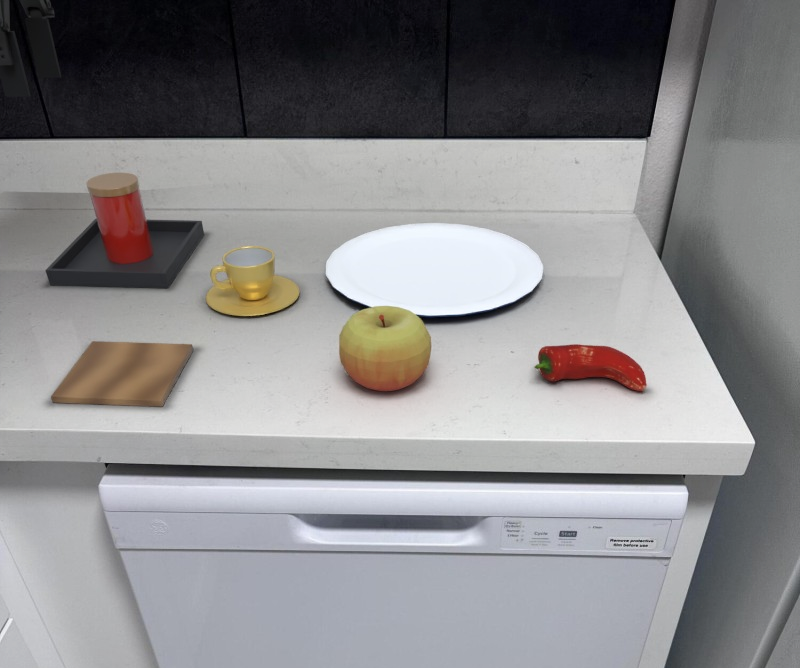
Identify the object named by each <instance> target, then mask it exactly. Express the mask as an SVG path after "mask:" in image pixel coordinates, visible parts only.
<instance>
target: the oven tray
mask: <svg viewBox="0 0 800 668" xmlns="http://www.w3.org/2000/svg"><path fill="white" fill-rule="evenodd" d="M146 220H147V225H148V229H149V234H150V238H151V242H152V247H153V255H152V256H151V257H149V258H148V259H146V260H143V261H140V262H136V263H130V264H119V263H114V262H111V261H109V260H108V259H107V256H106V252H105V248H104V245H103V241H102V237H101V233H100V230H99V226H98V222H97V218H95V219H93V220H92V222H91V223H90V224H89V225H88V226H87V227H85V229H84V230H83V231H82V232H81V233H80V234H79V235H78V236H77V237H76V238H75V239H74V240H73V241H72V242H71V243H70V244H69V245H68V246H67V247H66V248H65V249H64V251H62V252H61V253H60V255H58V256H57V257H56V259H55V260H54V261H53V262H52V263H51V264H50V265H49V266H48V267H46V269H45V270H44V271H45V274H46V276H47V280H48V283H49V286H61V287H63V286H65V287H67V286H70V287H101V288H105V287H106V288H139V289H140V288H142V289H143V288H145V289H169V288H170V286H171V285H172V284H173V282H174V281H175V279H176V277H177V276H178V274H179V273H180V271H181V270H182V269H183V267H184V266H185V264H186V262H187V261H188V259H189V258H190V256H191V255H192V254H193V252H194V251H195V249H196V248H197V246H198V245H199V243H200V242H201V240H202V239H203V237H204V236H205V232H204V226H203V221H202V220H191V219H189V220H187V219H146Z"/></svg>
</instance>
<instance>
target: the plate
mask: <svg viewBox="0 0 800 668" xmlns="http://www.w3.org/2000/svg"><path fill="white" fill-rule="evenodd" d="M543 272H544V265H543V262H542V259H541V258H540V256H539V254H538V253H536V252H535V251H534V250H533V249H532V248H531V247H529V246H528V245H527V244H526V243H524V242H522V241H520V240H518V239H516V238H514V237H512V236H510V235H508V234H505V233H502V232H499V231H495V230H492V229H488V228H485V227H480V226H474V225H467V224H460V223H448V222H447V223H446V222H445V223H443V222H425V223H424V222H423V223H421V222H420V223H408V224H400V225H393V226H386V227H382V228H380V229H375V230H372V231H368V232H365V233H362V234H360V235H359V236H356V237H353V238H351V239H349V240H347V241H345V242H343V243H342V244H341V245H340V246H339V247H337V248H336V249H335V250H333V251H332V252H331V254H330V255H329V257H328V259H327V260H326V261H325V277H326V279H327V280H328V282H329V284H330V285H331V287H332V288H333V289H334V290H335V291H337V292H338V293H339V294H341V295H342V296H343V297H345V298H346V299H348V300H350V301H352V302H355V303H357V304H360V305H362V306H364V307H366V308H371V307H375V306H393V307H400V308H403V309H406V310H409V311H411V312H412V313H414V314H415V315H417V316H418V317H420V318H421V317H423V318H443V317H463V316H469V315H475V314H481V313H486V312H491V311H493V310H496V309H499V308H502V307H506V306H508V305H513V304H514V303H517V302H518V301H519V300H521V299H522V298H524V297H527V296H528V295H530V294H531V293H532V292H533V291H534V290H535V289H536V288H537V286H538V285H539V284H540V283H541V281H542V279H543Z"/></svg>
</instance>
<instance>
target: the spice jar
mask: <svg viewBox="0 0 800 668" xmlns="http://www.w3.org/2000/svg"><path fill="white" fill-rule="evenodd" d="M86 187H87V191H88V193H89V196H90V200H91V204H92V207H93V211H94V214H95V219H97V222H98V226H99V230H100V233H101V237H102V241H103V245H104V248H105V252H106V256H107V259H108V260H109V261H111V262H114V263H119V264H130V263H136V262H140V261H143V260H146V259H148V258H149V257H151V256H152V255H153V247H152V242H151V238H150V234H149V229H148V225H147V220H148V219H147V216H146V212H145V208H144V202H143V198H142V194H141V190H140V182H139V177H138V176H137V175H136V174H133V173H129V172H108V173H103V174H99V175H96V176H93V177H91V178H89V179H88V180H87V181H86Z"/></svg>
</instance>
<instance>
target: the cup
mask: <svg viewBox="0 0 800 668" xmlns="http://www.w3.org/2000/svg"><path fill="white" fill-rule="evenodd" d="M275 258H276V255H275V253H274V251H273V250H271V249H270V248H267V247H264V246H257V245H248V246H247V245H246V246H240V247H235V248H232V249H230V250H228V251H227V252H225V253H224V254H223V256H222V258H221V259H222V264H219V265H215V266H213V267H212V268H211V269H210V271H209V276H210V280H211V282H212V284H213V286H212V287H211V288H210V289H209V290H208V291H207V293H206V296H205V301H206V303H207V305H208V306H209V307H210V308H211V309H213V310H215V311H217V312H219V313H222V314H226V315H230V316H231V315H232V316H237V317H238V316H240V317H249V316H250V317H252V316H260V315H265V314H270V313H274V312H278V311H280V310H283V309H285V308H287V307H289V306H290V305H292V304H293V303H294V302H296V301H297V299H298V298H299V296H300V288H299V286H298V284H296V282H294V281H293V280H291V279H289V278H287V277H285V276H282V275H276V274H275V271H276V269H275V267H276V263H275V262H276V261H275V260H276V259H275ZM218 273H225V274H226V276H227V279H224V280H222V281H219V280H218V279H217V274H218Z"/></svg>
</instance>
